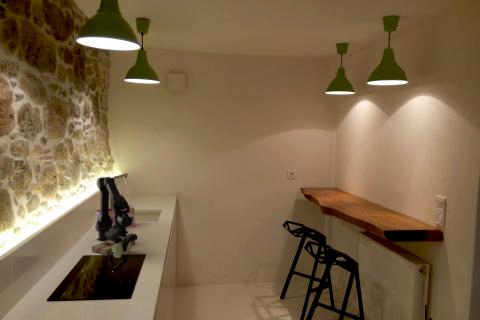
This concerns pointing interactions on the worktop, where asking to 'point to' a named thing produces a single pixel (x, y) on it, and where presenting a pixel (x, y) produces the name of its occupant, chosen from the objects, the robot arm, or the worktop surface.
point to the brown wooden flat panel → (106, 247)
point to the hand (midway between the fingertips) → (121, 251)
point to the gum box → (121, 210)
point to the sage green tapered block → (120, 249)
